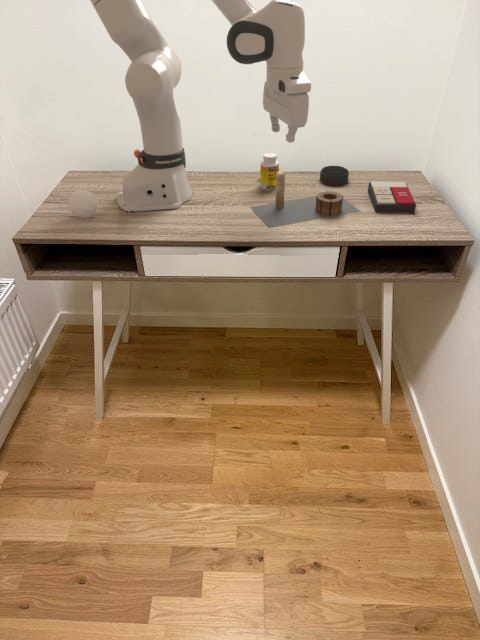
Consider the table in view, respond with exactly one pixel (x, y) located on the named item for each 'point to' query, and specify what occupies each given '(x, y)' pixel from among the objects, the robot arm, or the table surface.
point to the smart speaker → (334, 175)
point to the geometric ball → (83, 204)
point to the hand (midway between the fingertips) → (282, 136)
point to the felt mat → (295, 212)
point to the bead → (329, 203)
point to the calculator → (391, 197)
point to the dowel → (280, 189)
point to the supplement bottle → (269, 171)
